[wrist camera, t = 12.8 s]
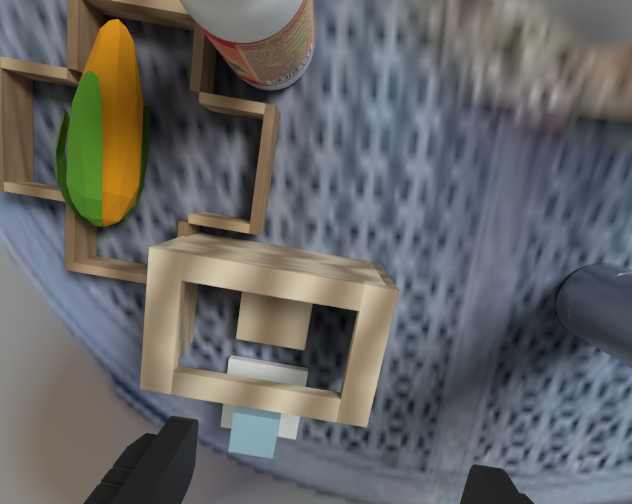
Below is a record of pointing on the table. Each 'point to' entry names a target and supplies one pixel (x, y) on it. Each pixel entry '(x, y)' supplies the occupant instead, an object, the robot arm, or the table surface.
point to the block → (254, 432)
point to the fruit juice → (259, 37)
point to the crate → (264, 321)
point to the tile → (269, 373)
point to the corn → (105, 133)
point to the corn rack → (82, 29)
